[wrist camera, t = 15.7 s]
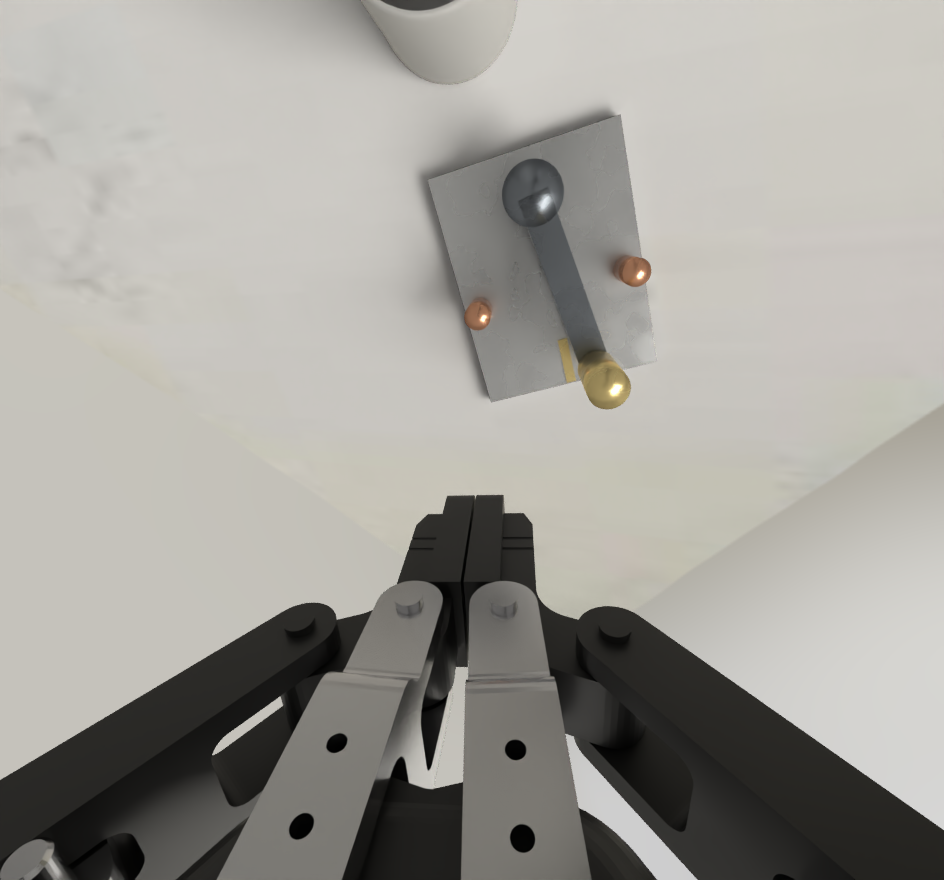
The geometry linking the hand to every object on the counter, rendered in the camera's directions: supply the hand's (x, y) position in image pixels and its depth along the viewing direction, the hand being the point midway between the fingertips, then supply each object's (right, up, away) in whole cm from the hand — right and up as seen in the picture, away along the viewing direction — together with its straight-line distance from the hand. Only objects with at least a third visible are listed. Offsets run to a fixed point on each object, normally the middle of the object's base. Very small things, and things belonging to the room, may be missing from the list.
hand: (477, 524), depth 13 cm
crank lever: (+6, +13, +21) cm, 25 cm away
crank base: (+5, +14, +23) cm, 28 cm away
